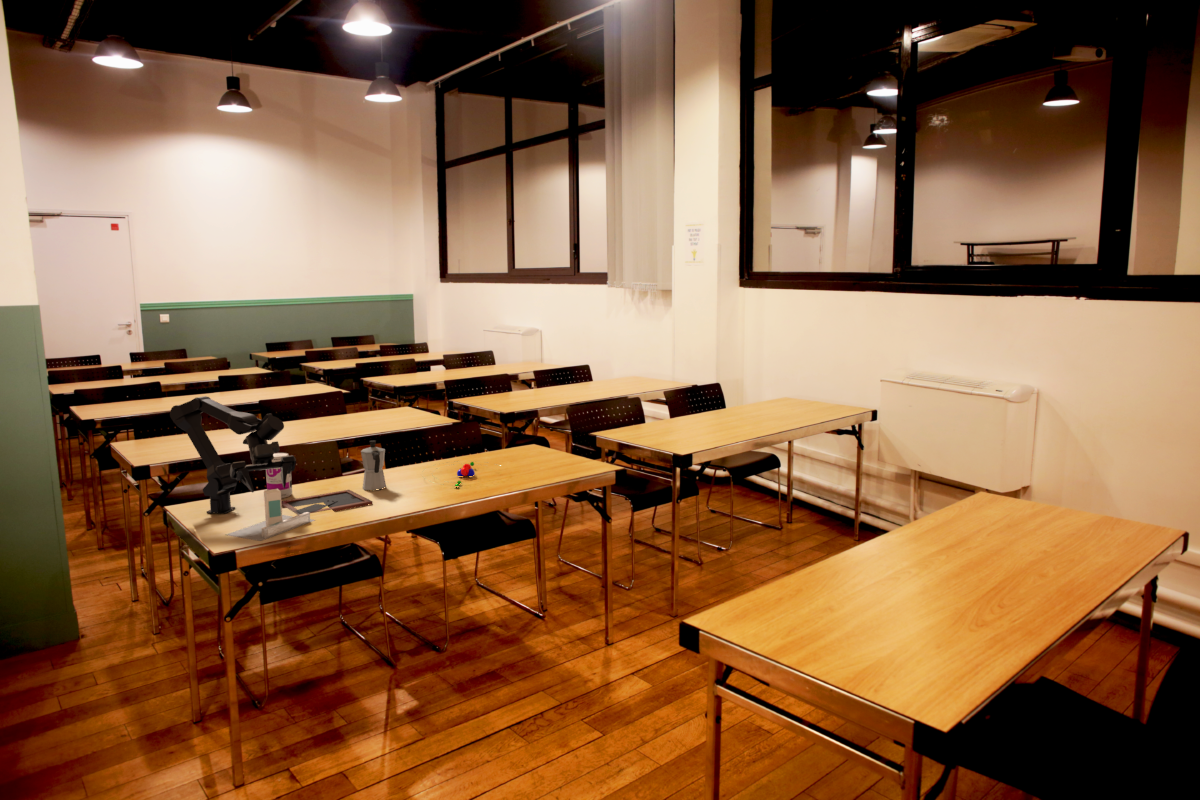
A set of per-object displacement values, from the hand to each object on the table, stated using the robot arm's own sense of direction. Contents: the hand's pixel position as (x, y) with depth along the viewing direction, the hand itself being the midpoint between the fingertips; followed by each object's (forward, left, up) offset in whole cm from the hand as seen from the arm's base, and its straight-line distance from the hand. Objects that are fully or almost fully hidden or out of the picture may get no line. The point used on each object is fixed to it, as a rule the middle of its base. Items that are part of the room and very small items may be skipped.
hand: (269, 489), depth 235 cm
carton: (+4, +3, -11) cm, 12 cm away
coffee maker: (-47, +15, -12) cm, 51 cm away
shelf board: (+4, +2, -12) cm, 13 cm away
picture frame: (-25, +6, -13) cm, 29 cm away
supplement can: (-34, -15, -12) cm, 39 cm away
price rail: (+6, +8, -11) cm, 15 cm away
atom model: (-68, +44, -12) cm, 82 cm away
